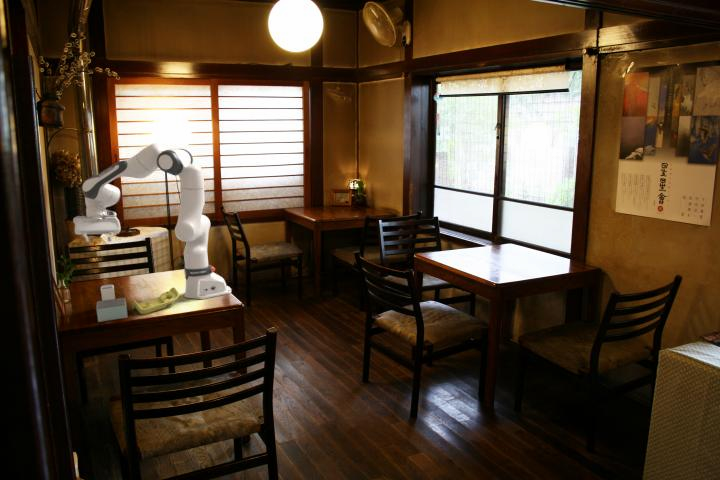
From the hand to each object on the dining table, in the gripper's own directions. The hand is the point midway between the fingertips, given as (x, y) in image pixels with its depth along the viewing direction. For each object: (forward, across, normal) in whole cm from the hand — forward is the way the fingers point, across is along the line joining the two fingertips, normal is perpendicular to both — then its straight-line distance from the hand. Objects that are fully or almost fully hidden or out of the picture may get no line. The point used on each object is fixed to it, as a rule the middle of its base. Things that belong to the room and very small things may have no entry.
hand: (99, 241), depth 284 cm
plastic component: (+39, +21, -6) cm, 45 cm away
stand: (+40, +2, -4) cm, 40 cm away
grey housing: (+32, +3, +6) cm, 33 cm away
